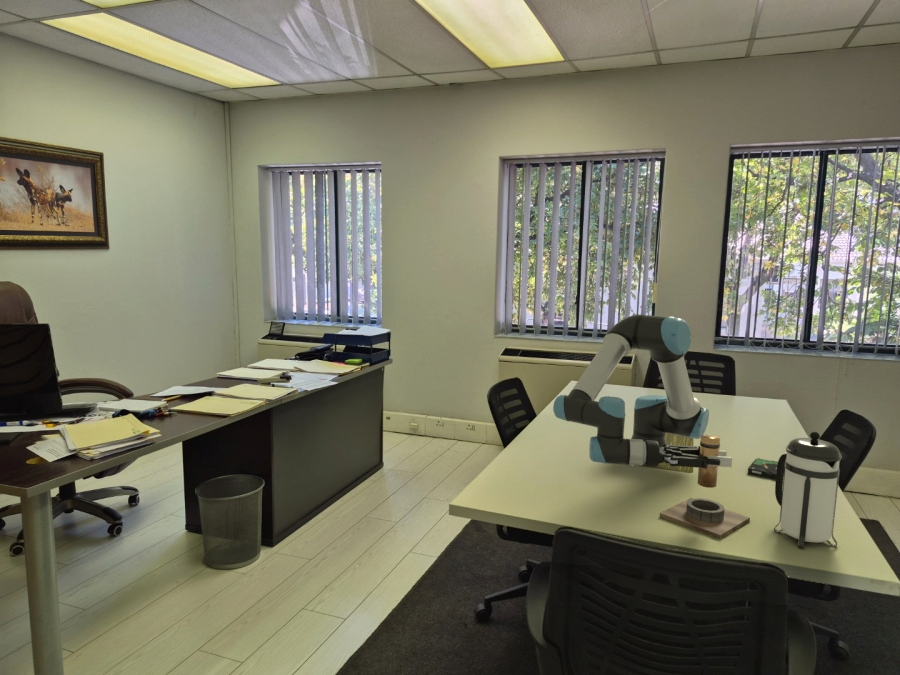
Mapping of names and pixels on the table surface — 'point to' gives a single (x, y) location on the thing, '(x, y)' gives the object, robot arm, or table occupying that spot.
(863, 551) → the table surface
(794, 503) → the coffee press
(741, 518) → the collar plate
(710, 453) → the copper tube
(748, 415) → the table surface
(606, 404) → the robot arm
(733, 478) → the table surface
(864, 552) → the table surface
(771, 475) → the disk drive
